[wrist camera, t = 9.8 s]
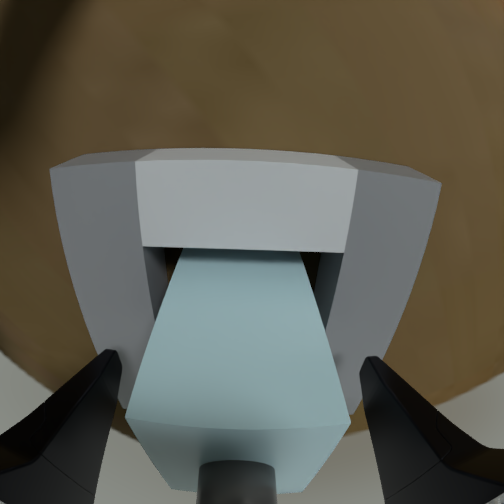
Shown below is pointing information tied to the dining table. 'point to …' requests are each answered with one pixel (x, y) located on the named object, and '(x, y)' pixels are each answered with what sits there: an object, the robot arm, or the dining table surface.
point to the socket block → (243, 237)
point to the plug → (238, 379)
